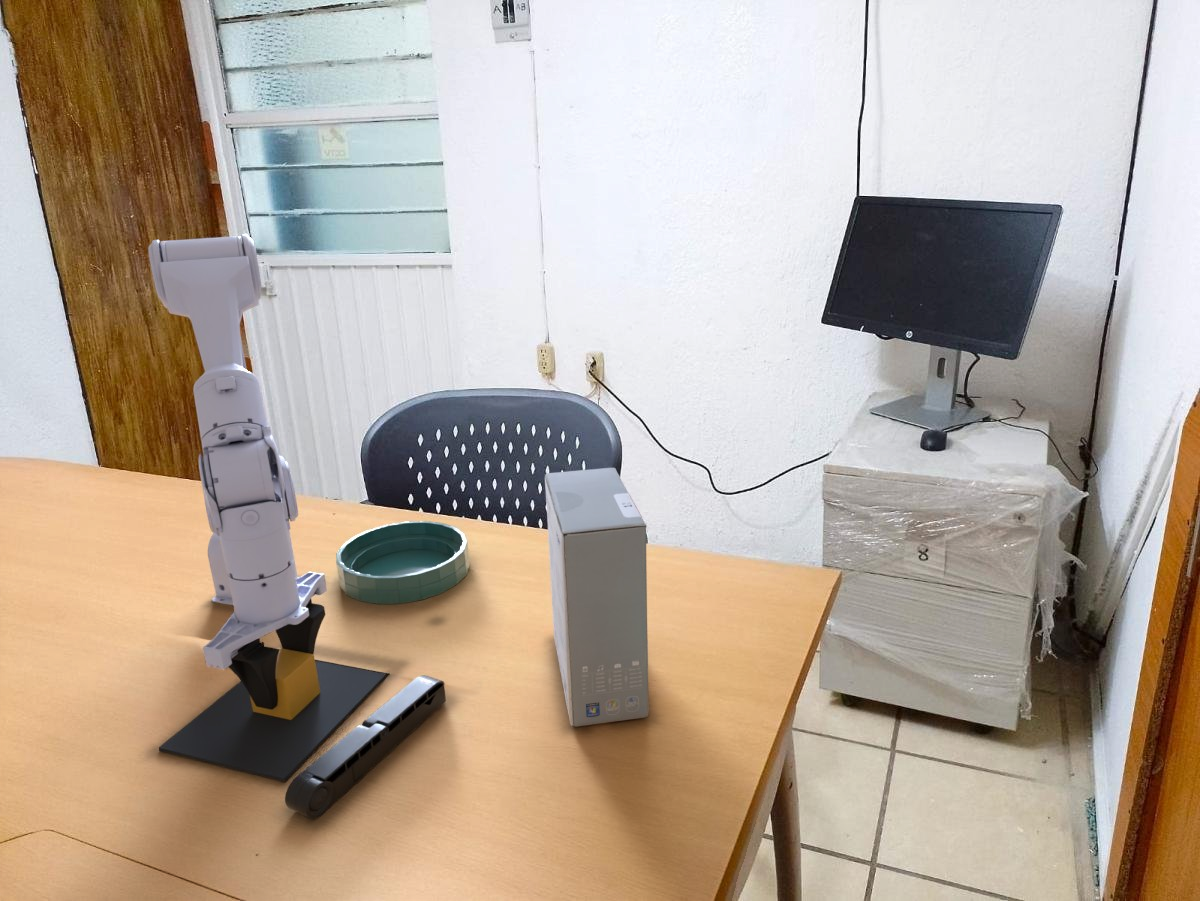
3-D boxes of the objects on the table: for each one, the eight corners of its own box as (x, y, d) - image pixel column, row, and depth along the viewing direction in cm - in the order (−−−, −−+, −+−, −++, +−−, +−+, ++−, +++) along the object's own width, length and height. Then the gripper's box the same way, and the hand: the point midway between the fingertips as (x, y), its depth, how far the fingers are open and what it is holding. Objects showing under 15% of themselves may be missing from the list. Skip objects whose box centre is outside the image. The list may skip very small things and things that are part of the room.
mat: (158, 751, 76) (158, 747, 76) (288, 645, 92) (287, 642, 92) (284, 782, 71) (284, 778, 71) (397, 665, 87) (397, 662, 87)
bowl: (313, 597, 102) (308, 568, 101) (386, 541, 116) (382, 515, 115) (429, 616, 97) (425, 585, 95) (490, 555, 111) (488, 528, 110)
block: (252, 712, 80) (244, 672, 79) (283, 685, 84) (276, 647, 83) (291, 720, 79) (283, 680, 77) (320, 692, 83) (314, 654, 81)
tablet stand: (310, 827, 66) (304, 797, 65) (287, 816, 68) (281, 786, 67) (448, 701, 81) (445, 676, 80) (427, 694, 82) (424, 669, 81)
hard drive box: (651, 719, 78) (648, 526, 71) (570, 731, 76) (559, 535, 70) (620, 632, 92) (615, 464, 85) (552, 640, 91) (541, 471, 84)
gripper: (239, 611, 69) (266, 745, 73) (343, 537, 82) (361, 656, 86) (172, 599, 71) (203, 731, 76) (284, 530, 84) (305, 645, 88)
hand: (284, 690), depth 81 cm, fingers closed on block, 4 cm apart
